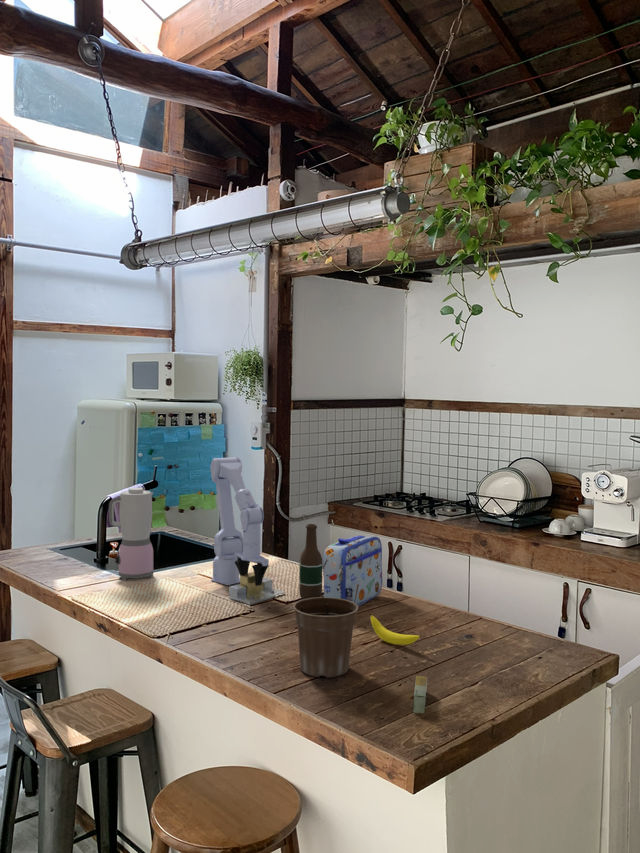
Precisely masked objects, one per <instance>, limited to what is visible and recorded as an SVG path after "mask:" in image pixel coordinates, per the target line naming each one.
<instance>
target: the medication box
mask: <svg viewBox="0 0 640 853" xmlns="http://www.w3.org/2000/svg"><path fill="white" fill-rule="evenodd" d="M427 683H428V677H427V676H422V675H416V676H415V684H414V690H413V691H414V693H413V702H412V713H413V712H414V713H413V714H417V713H424V714H425V711H426V710H425V708H426V699H427V698H426V697H427V685H428V684H427Z"/></svg>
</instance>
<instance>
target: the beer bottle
mask: <svg viewBox="0 0 640 853" xmlns="http://www.w3.org/2000/svg"><path fill="white" fill-rule="evenodd" d="M305 528H306V533H305V534H306V535H305V546H304V549H303V550H302V552H301V554H300V556H299V576H298V577H299V581H298V582H299V584H298V586H299V588H298V591H299V596H300V597H301V598H302V597H304V598H303V599H307V598H315V597H323V556H322V555H321V553H320V551H319V549H318V543H317V529H318V526H317V524H316V523H309V524H306V526H305Z"/></svg>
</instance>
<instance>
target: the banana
mask: <svg viewBox="0 0 640 853" xmlns="http://www.w3.org/2000/svg"><path fill="white" fill-rule="evenodd" d="M368 614H369V616H370V622H371V626H372V629H373V630H374V632H375V634H376V635H377V636H378V638H379V639H381V641H384V642H385V643H387V644H392V645H395V646H396V645H398V646H406V645H407V646H408V645H411V644H413V643H415V642H416V641H418V640H419V639H420V637H421V636H420V635H417V634H415V635H414V634H401V633H398V632H394V631H391V630H389V629H387V628H386V627H385V626H383V625H382V624H381V622H380V620H378V619H377V617H375V616H373V613H368Z"/></svg>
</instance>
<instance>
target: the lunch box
mask: <svg viewBox="0 0 640 853" xmlns="http://www.w3.org/2000/svg"><path fill="white" fill-rule="evenodd" d="M337 540H338V541H337V542H334V543H333V544H330V545H328V546H327V547H326V548H325V550H324V551H323V555H322V573H323V597H332V598H340V599H345V600H349V601H352V602H354V603H355V604H357V605H358V607H359V606H361V605H364V604H366V603H367V602H369V601H371V600H372V599H374V598H375V597H377V596H378V595H380V593H381V591H382V587H383V568H382V566H383V565H382V564H383V563H382V560H383V559H382V557H383V546H382V545H383V544H382V541H381V539H380V538H379V537H378V536H365V535H355V536H352V537H350V538H341V537H339V538H338V539H337Z"/></svg>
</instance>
